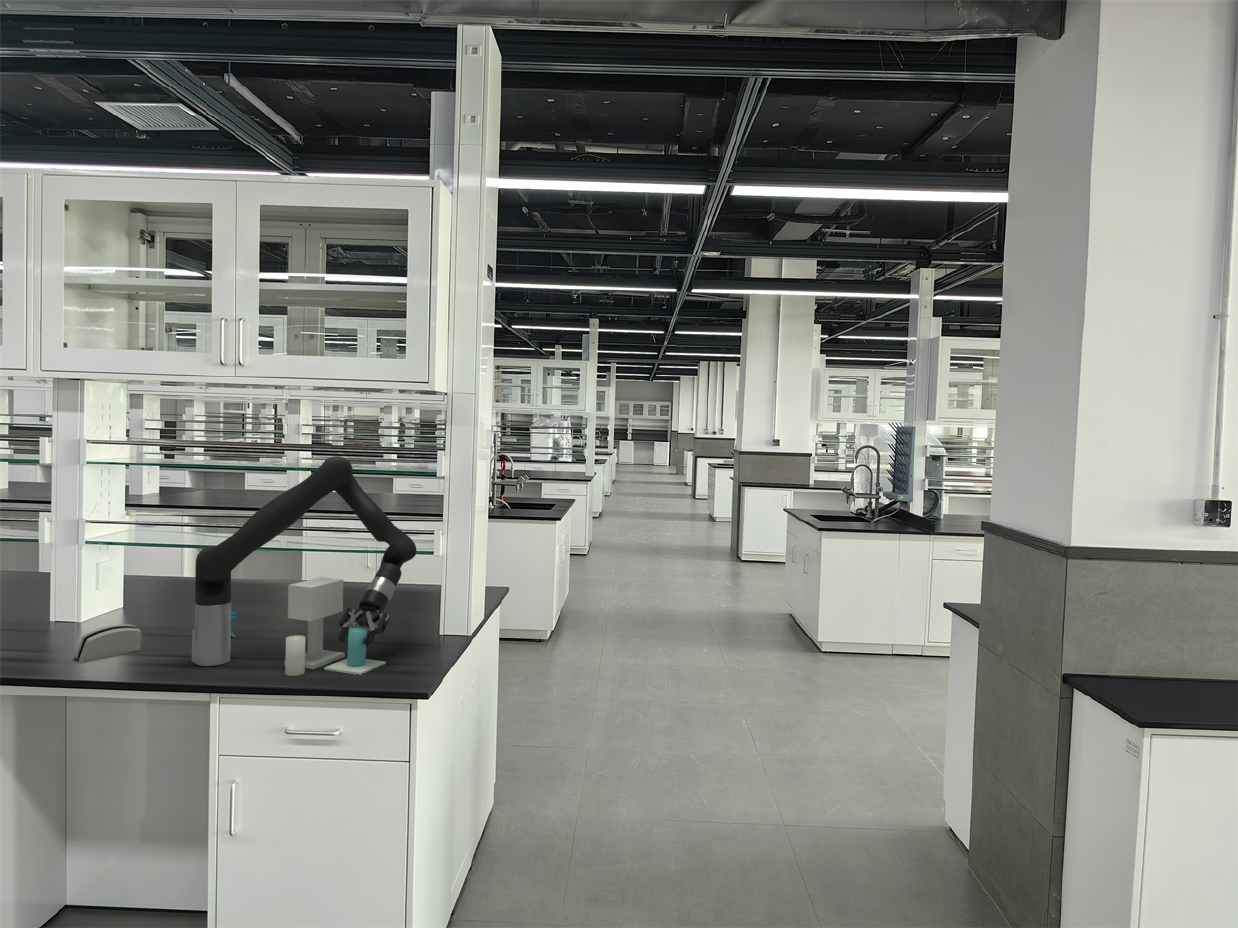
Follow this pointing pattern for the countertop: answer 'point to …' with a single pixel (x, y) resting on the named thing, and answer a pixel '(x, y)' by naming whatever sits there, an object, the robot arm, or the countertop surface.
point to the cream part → (295, 655)
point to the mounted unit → (316, 614)
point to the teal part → (356, 647)
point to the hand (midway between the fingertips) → (353, 642)
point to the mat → (344, 668)
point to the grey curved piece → (108, 642)
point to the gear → (232, 623)
